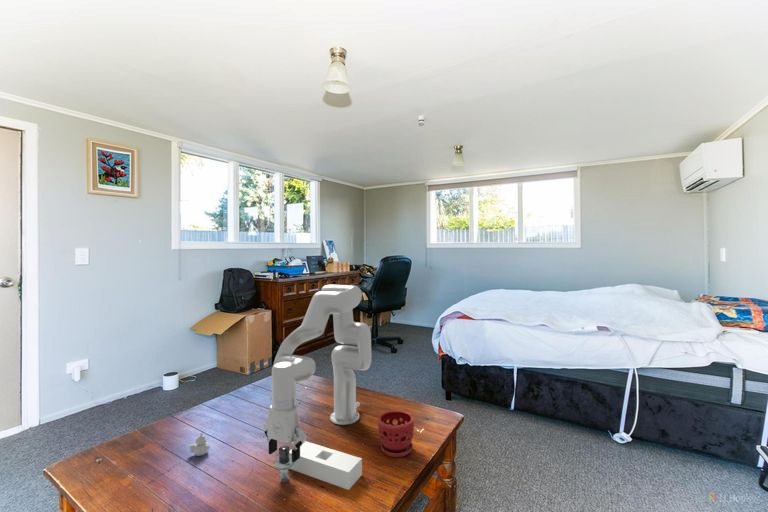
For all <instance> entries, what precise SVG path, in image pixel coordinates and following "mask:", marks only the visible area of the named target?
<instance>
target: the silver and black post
mask: <svg viewBox="0 0 768 512" xmlns="http://www.w3.org/2000/svg"><path fill="white" fill-rule="evenodd" d="M289 451H290V446H289V445H281V446H280V447H279V448H278V457H277V458H275V460H274V462H273V463H274V464H273V465H274V468H275V469H276V470H279V482H280V483H287V482H288V481H289V480H290V477H289V476H290V473H289V472H290V469H289V468H290V467H292V466H293V464H294V463H293V462H292V456H289Z"/></svg>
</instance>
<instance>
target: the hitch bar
mask: <svg viewBox="0 0 768 512" xmlns="http://www.w3.org/2000/svg"><path fill="white" fill-rule="evenodd" d="M292 449H293V448H292ZM292 449H289V456H292ZM289 470H292V471H295V472H297V473H300V474H304V475H306V476H308V477H312V478H314V479H317V480H320V481H323V482H324V483H327V484H330V485H334V486H337V487H340V488H342V489H345V490H348V491H349V490H351V488H352V487H353V486H354V485H355V483H357V481H358V480H359V479H360V477H362V475H363V458H361V457H358V456H355V455H352V454H348V453H346V452H343V451H339V450H336V449H332V448H329V447H326V446H322V445H320V444H316V443H313V442H309V441H306V440H305V442H304V443H303V444H302V446H300V458H299V459H298V460H296V461H295V462H294V464H293V466H292V467H290V468H289Z"/></svg>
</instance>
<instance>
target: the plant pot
mask: <svg viewBox="0 0 768 512" xmlns="http://www.w3.org/2000/svg"><path fill="white" fill-rule="evenodd" d="M400 419H402V420H400ZM414 419H415V418H414V416H413V415H412V414H411V413H409V412H406V411H402V410H390V411H386V412H383V413H382V414H380V415H379V416H378V418H377V425H378V427H377V428H378V435H379V439H380V441H381V445H380V448H381V451H382V452H383V453H384V454H385V455H387V456H389V457H392V458H399V457H405V456H407V455H409V454H410V453H411V451H412V450H413V446H414V445H413V443H412V441H413V436H414V428H415V427H414V426H415V424H414V423H415V422H414ZM394 420H396V421H397V423H396V424H394V423H393V421H394Z"/></svg>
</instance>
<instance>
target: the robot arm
mask: <svg viewBox="0 0 768 512" xmlns="http://www.w3.org/2000/svg"><path fill="white" fill-rule="evenodd" d="M362 293H363V292H362V290H361V288H360V287H359V286H357V285H352V284H350V285H349V284H326V285H324V286H322V288H321V289H320V291H317V292H316V293H314V294H313V296H312V297H311V301H310V302H309V305H308V308H307V310H306V313H305V315H304V318H303V320H302V322H301V325H300V326H298V327H297V328H296V329H294V330H293V331H292V332H290V334H289V335H288V336H287V337H286V338H285V339H283V341H282V342H281V344H280V346H279V348H278V350H277V352H276V355H275V357H274V361H273V365H272V367H271V396H270V398H269V399H270V401H271V405H270V406H269V409H268V413H267V422H265V423H264V424H262V428H263V431H264V435H265V436H266V440H267V442H268V455H272V454H274V453H275V452H276V451H278V442H280V443H283V444H290V445H291V447H292V462H293V463H294V462H295V461H296V460H298V459H299V458H300V446H302V444H303V443H304V442H305V441H306V439H307V437H308V435H307V434H306V433H305V432H304V431H303V430H302V429H301V423H300V413H299V408H298V406H297V383H300V382H303V381H307V380H309V379H310V378H312V377H313V375H314V374H315V372H316V367H317V365H316V364H317V363H316V362H315V360H314V359H313V358H311V357H309V356H303V355H297V354H294V351H295V350H296V349H297V348H298V347H299V346H300V345H301V344H303V343H305V342H309V341H311V340H313V339H317V338H318V337H321V336H322V335H323V334H324V333H325V329H326V328H327V324H328V321H329V318H330V316H331V315H332V317H333V322H332V323H333V334H334V335H333V336H334V340H335V342H336V343H338V344H342V345H337V346H335V347H334V348H333V349H332V351H331V354H330V355H331V356H330V357H331V358H330V359H331V364H332V368H333V412H332V413H331V414H330V416H329V417H330V422H332V423H333V424H336V425H338V426H339V425H341V426H344V425H345V426H346V425H347V426H348V425H352V424H354V423H356V422H358V420H359V419H360V413H359V412H358V411H357V409H358V407H359V406H360V405H361V402H359V401H357V400H356V399H357V398H356V396H357V395H356V394H357V393H356V392H357V390H356V389H357V387H356V386H357V385H356V383H357V379H356V374H355V372H354V371H367V370H369V369H370V367H371V364H372V335H371V333H372V332H371V329H370V326H369V325H368V323H365V322H358V321H357V322H356V321H354V313H353V311H354V310H353V309H354V308H356V307H358V305H359V304H360V303H361V301H362V295H363V294H362Z"/></svg>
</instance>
